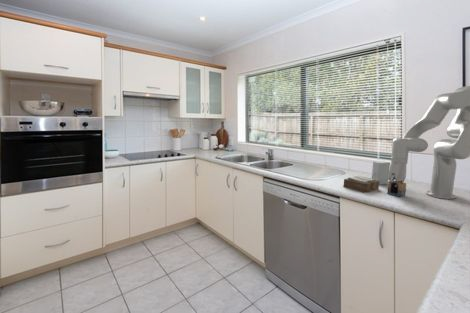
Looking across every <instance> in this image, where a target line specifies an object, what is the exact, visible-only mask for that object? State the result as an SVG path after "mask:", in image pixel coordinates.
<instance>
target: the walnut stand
mask: <svg viewBox="0 0 470 313" xmlns="http://www.w3.org/2000/svg"><path fill="white" fill-rule="evenodd" d="M343 188H346V189H350V190H353V191H354V190H355V191H357V192H361V193H369V192H372V191H377V190H379V188H380V185H379V181H376V179H372V177H371V178H370V177H366V176H361V175H355V176H349V177H347V178H344V179H343Z"/></svg>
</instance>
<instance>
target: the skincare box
mask: <svg viewBox="0 0 470 313" xmlns="http://www.w3.org/2000/svg"><path fill="white" fill-rule="evenodd" d="M390 165H391V161H390V162H389V161H386V160H379V161H378V160H377V161H375V160H374V161H372V172H371V179H376V181H379V186H381V185H388V182H389V179H388V177H389V170H390Z"/></svg>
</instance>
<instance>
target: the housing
mask: <svg viewBox="0 0 470 313" xmlns="http://www.w3.org/2000/svg"><path fill="white" fill-rule="evenodd" d="M394 183H396V182H394ZM397 187H398V188H397V194H394V193H391V184H390V182H389V181H388V184H387V192H386V194H388V195H392V196H396V197H404V196H406V191H407V182H405V181H404V182H399V181H398V184H397Z"/></svg>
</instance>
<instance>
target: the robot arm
mask: <svg viewBox="0 0 470 313" xmlns="http://www.w3.org/2000/svg"><path fill="white" fill-rule="evenodd" d="M451 110H456V112H455V114H454V116H453V118H452V120H451V121H450V124H449V125H448V127H447V129H446V135H447V136H448V137H450V138H449V139H448V138H444V139H439V140H438V141H436V143H435V144H434V145H433V167H432V176H431V181H430V189H429V190H427V191H426V195H428V196H430V197H433V198H438V199H445V200H455V199H456V197H457V196H456V194H453V192H454V185H455V184H454V183H455V178H456V172H457V160H464V159H468V158H469V157H470V85H466V86H461V87H458V88H457V89H456V90H454V92H447V93H441V94H439V95H437V96H436V97H435V99H434V100H433V101H432V102H431V104H430V106H429V107H428V109H427V110H426V112H425V113H424V115H423V116H422V117H421V118H420V120H418V121H417V122H416V123H414V124H413V125H412V126H411V127H410V128H409V129H408V130H407V131H406V132H405V134H404V135H403V137H396V138H394V139H392V140H393V141H392V147H391V157H390V158H391V160H390V168H389V177H388V182H390V184H391V193H394V194H397V188H398V187H397V184H398V181H399V182H404V183H405V180H406V178H407V165H408V160H409V152H413V153H422V152H425V151H426V150H427V149H428V147H429V144H428V142H427V140H425V139H424V138H420V137H421V136H422V135H423V134H425V133H426V132H427V131H430V130H432V129H435V128H437V127H439V126H440V125H441V123H442V122H443V121H444V119H445V118H446V116H447V115H448V113H449V112H450V111H451ZM451 138H453V139H451ZM394 182H396V183H394Z"/></svg>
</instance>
